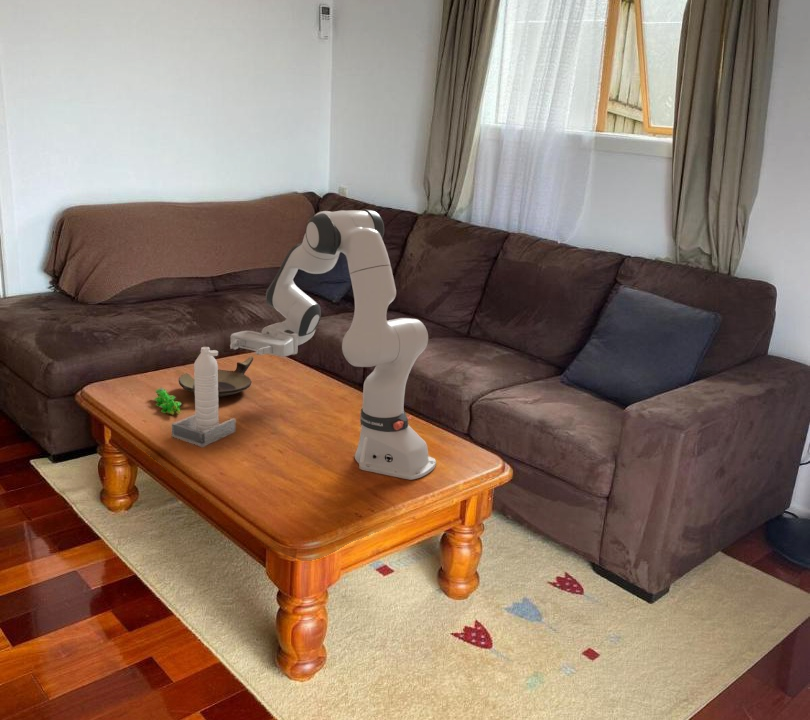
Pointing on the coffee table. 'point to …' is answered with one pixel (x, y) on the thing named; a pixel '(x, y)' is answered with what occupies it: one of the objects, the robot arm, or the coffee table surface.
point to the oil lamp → (224, 380)
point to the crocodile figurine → (167, 402)
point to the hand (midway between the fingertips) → (244, 349)
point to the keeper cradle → (188, 431)
